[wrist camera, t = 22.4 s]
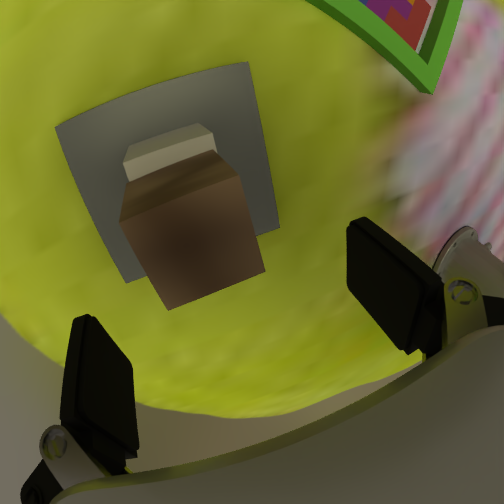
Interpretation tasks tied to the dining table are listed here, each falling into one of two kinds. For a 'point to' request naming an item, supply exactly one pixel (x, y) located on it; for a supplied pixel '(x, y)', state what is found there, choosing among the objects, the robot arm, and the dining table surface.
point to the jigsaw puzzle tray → (401, 32)
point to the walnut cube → (191, 228)
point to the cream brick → (167, 150)
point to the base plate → (162, 121)
